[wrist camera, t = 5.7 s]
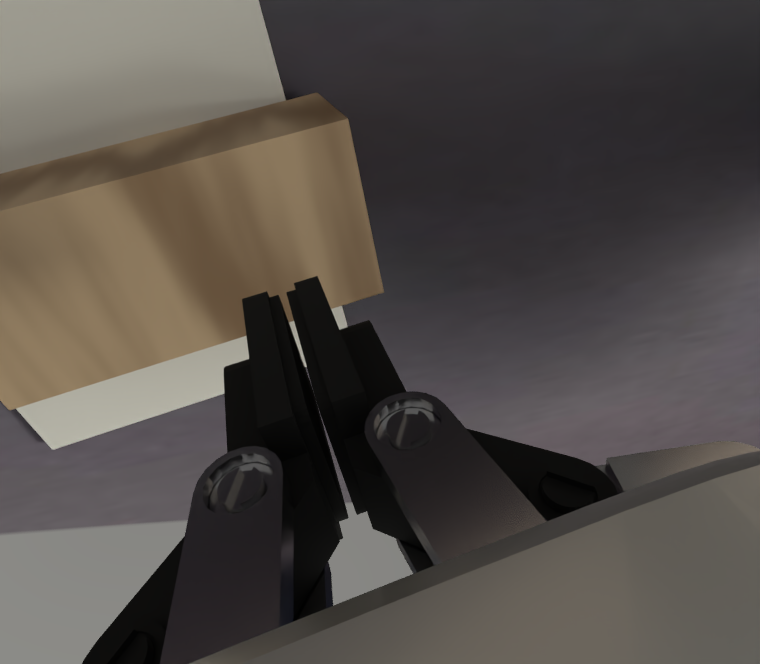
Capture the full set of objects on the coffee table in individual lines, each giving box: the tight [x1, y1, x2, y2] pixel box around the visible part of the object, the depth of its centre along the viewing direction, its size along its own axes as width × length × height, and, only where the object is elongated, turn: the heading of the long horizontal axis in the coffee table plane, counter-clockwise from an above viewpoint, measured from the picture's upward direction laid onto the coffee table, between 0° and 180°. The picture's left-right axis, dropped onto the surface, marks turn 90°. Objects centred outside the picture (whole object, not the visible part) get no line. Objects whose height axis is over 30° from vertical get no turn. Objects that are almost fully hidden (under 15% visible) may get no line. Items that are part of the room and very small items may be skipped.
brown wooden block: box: [0, 93, 384, 410], centre depth 17 cm, size 5×6×13 cm
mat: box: [0, 0, 348, 450], centre depth 19 cm, size 15×18×1 cm
